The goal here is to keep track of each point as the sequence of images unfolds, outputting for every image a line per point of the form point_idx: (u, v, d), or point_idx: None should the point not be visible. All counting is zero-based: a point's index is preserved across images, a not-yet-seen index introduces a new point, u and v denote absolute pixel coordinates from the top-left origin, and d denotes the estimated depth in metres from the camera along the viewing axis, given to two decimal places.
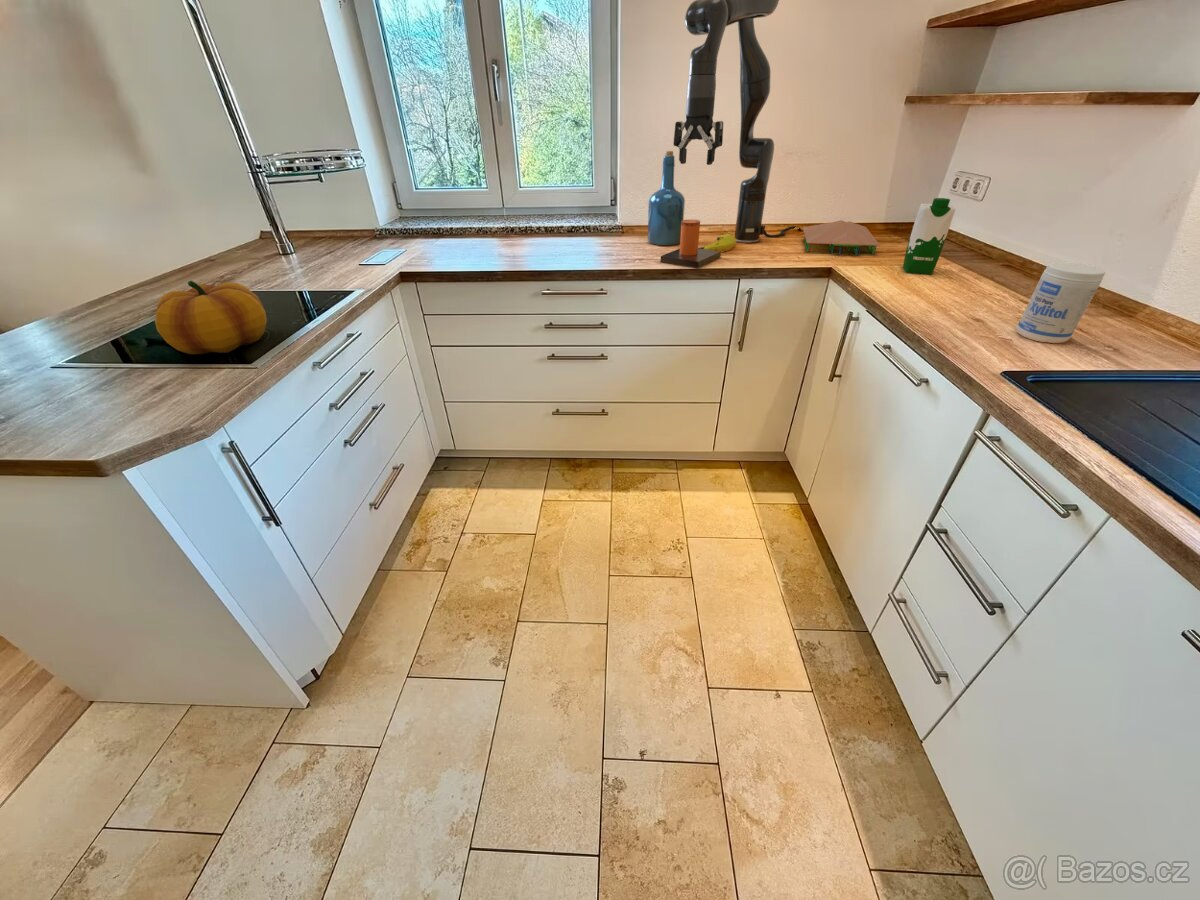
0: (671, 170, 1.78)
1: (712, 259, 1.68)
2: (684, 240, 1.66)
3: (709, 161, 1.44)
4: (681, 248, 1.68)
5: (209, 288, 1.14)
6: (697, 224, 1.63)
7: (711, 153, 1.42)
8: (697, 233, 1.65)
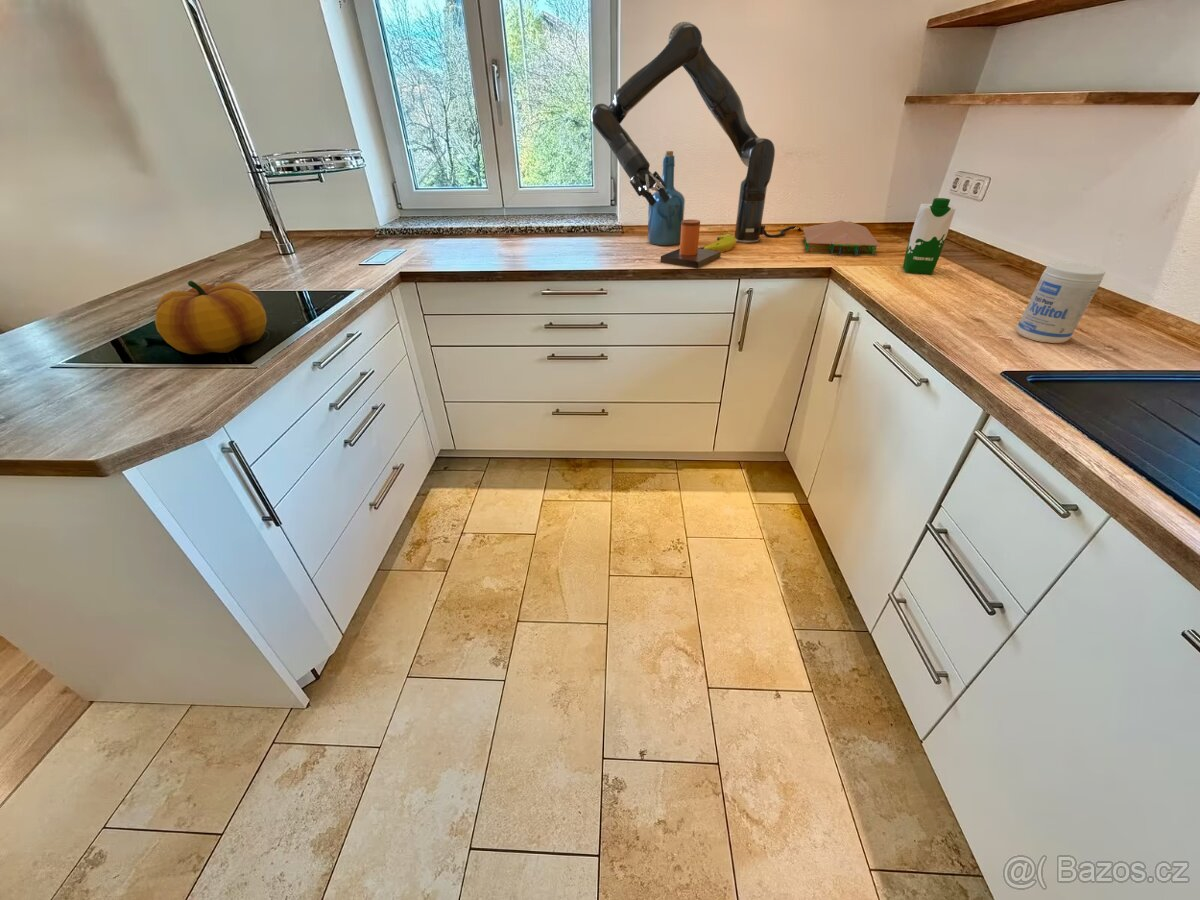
0: (671, 170, 1.78)
1: (712, 259, 1.68)
2: (684, 240, 1.66)
3: (650, 203, 1.66)
4: (681, 248, 1.68)
5: (209, 288, 1.14)
6: (697, 224, 1.63)
7: None
8: (697, 233, 1.65)
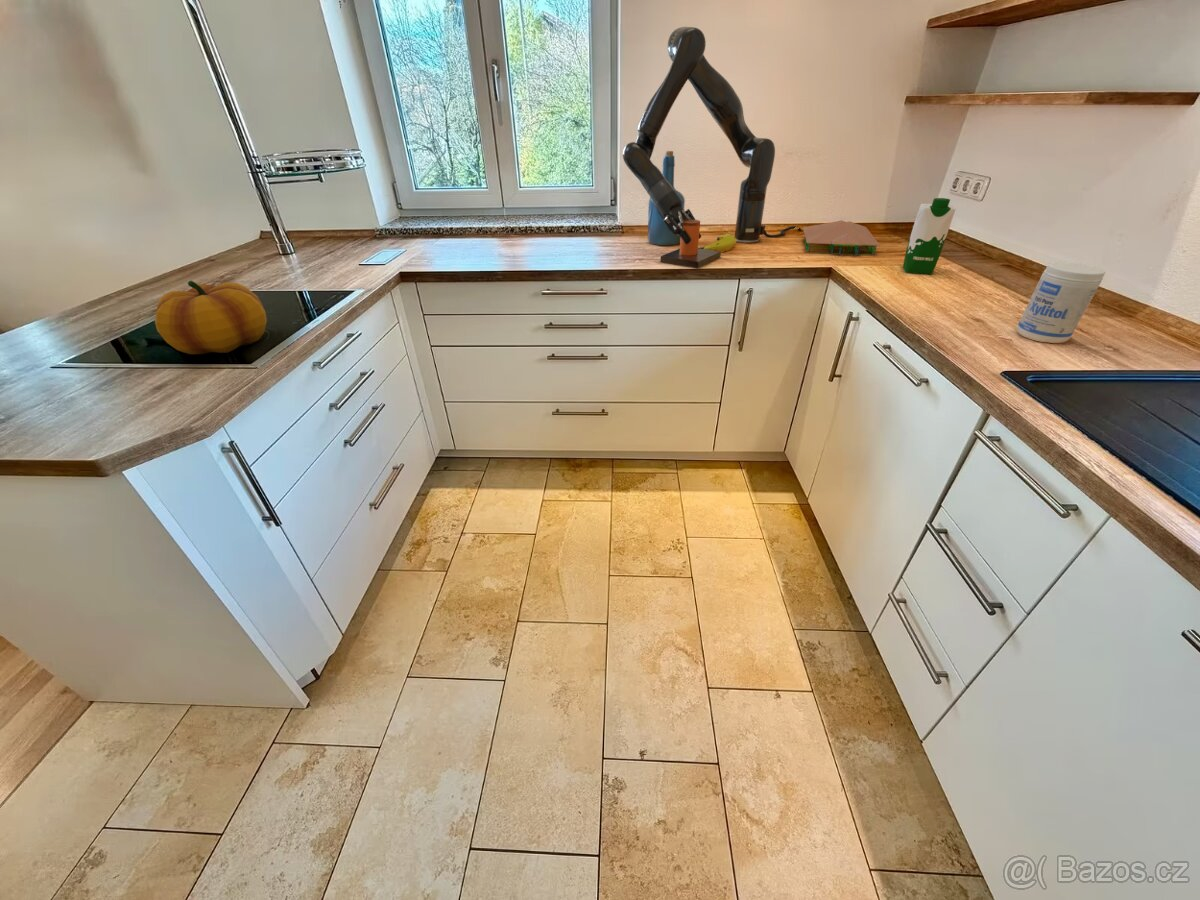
0: (671, 170, 1.78)
1: (712, 259, 1.68)
2: None
3: (685, 242, 1.65)
4: (681, 248, 1.68)
5: (209, 288, 1.14)
6: (697, 224, 1.63)
7: None
8: (697, 233, 1.65)
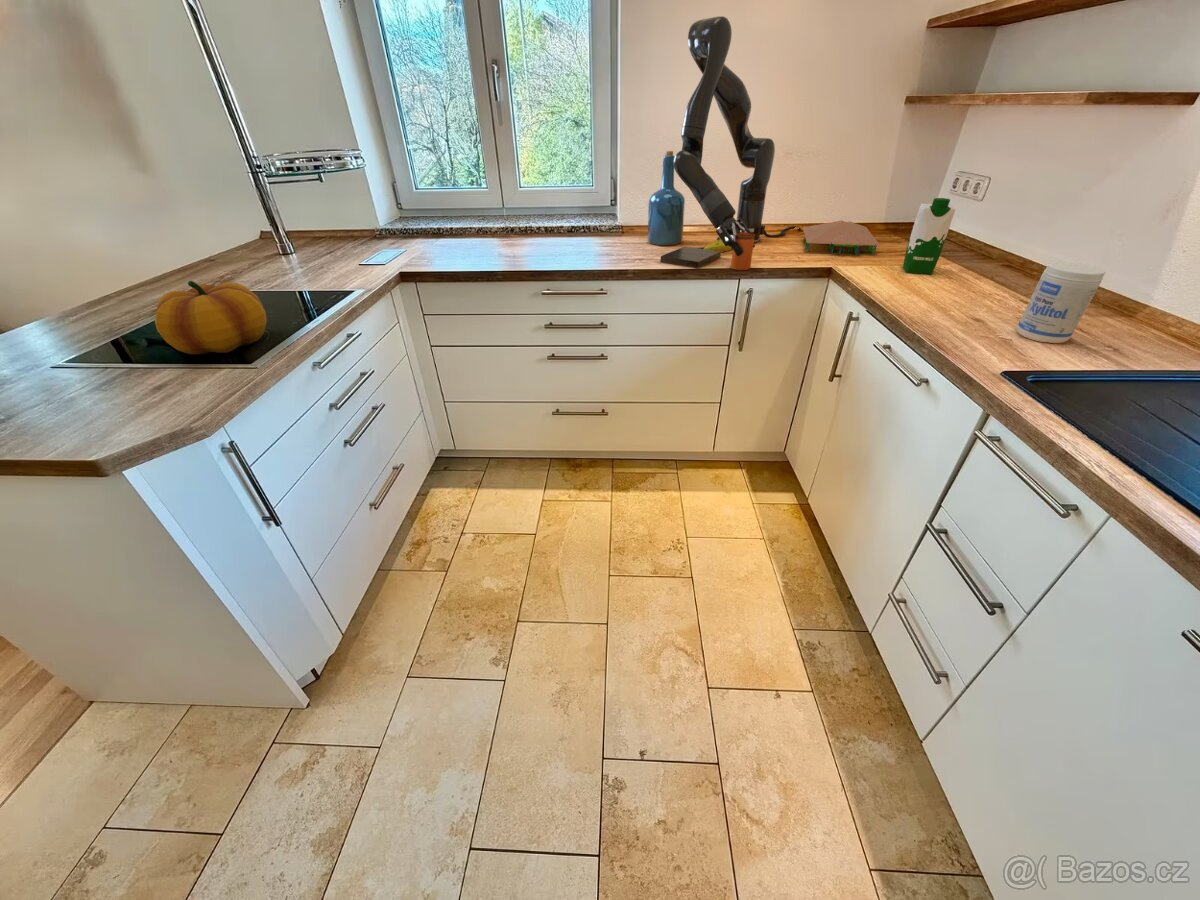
0: (671, 170, 1.78)
1: (712, 259, 1.68)
2: None
3: (736, 254, 1.56)
4: (733, 262, 1.60)
5: (209, 288, 1.14)
6: (752, 237, 1.55)
7: None
8: (751, 247, 1.56)
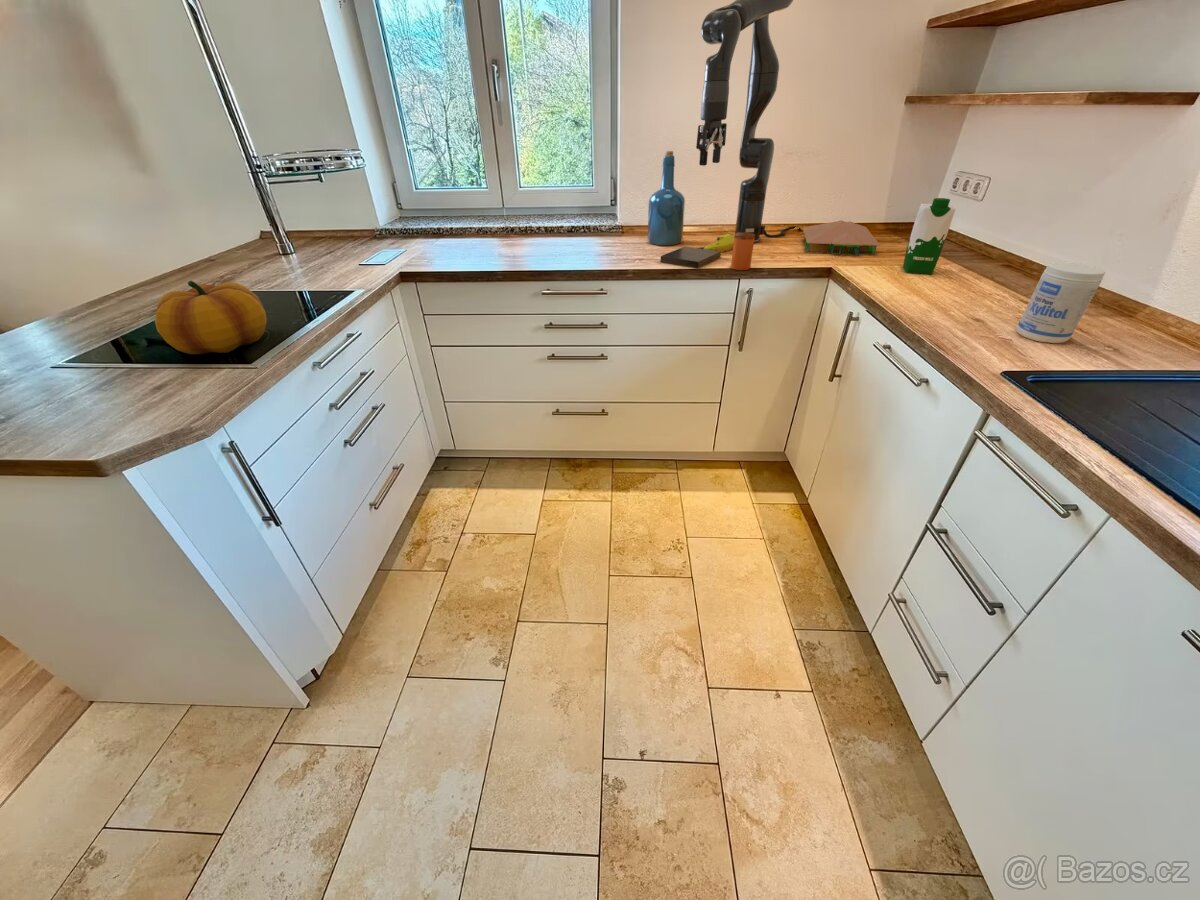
0: (671, 170, 1.78)
1: (712, 259, 1.68)
2: (738, 254, 1.57)
3: (700, 162, 1.54)
4: (733, 262, 1.60)
5: (209, 288, 1.14)
6: (752, 237, 1.55)
7: None
8: (751, 247, 1.56)
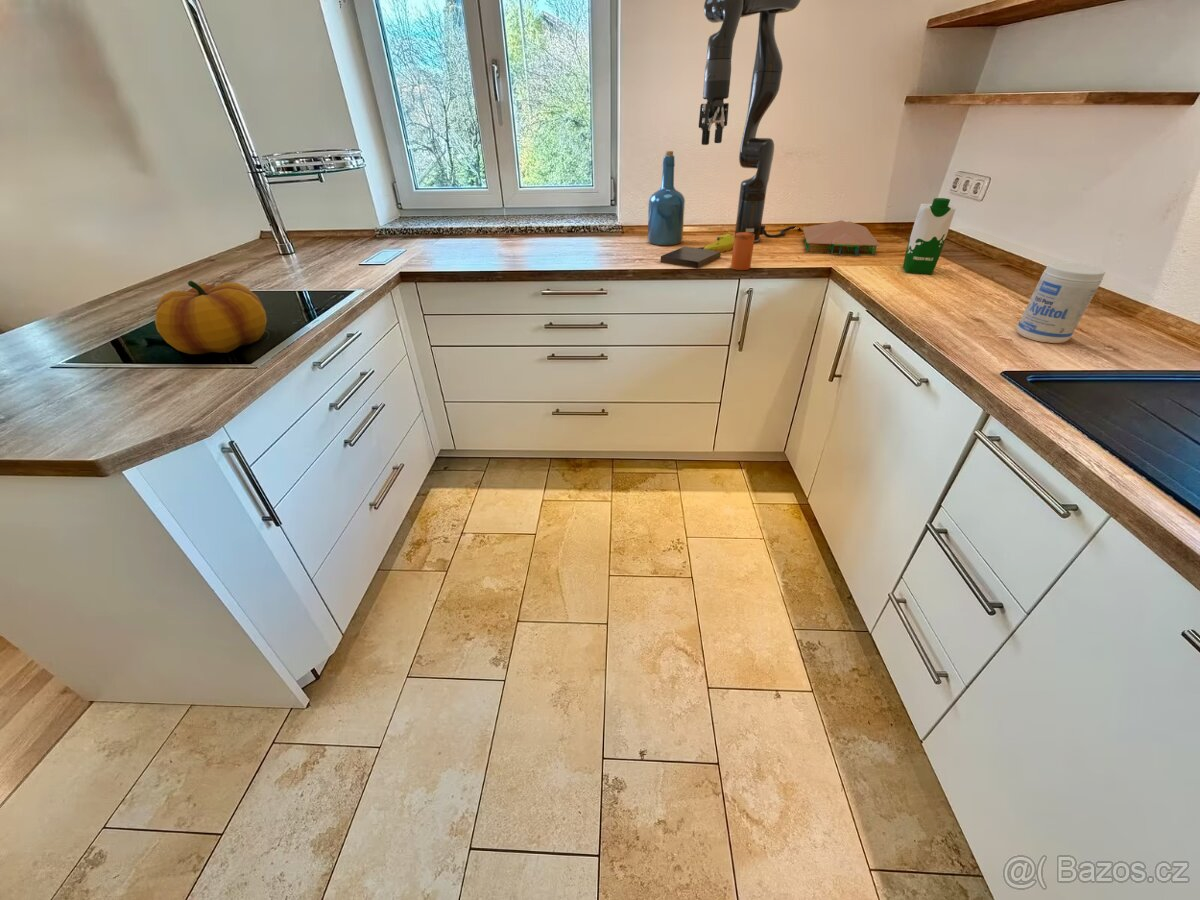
0: (671, 170, 1.78)
1: (712, 259, 1.68)
2: (738, 254, 1.57)
3: (702, 141, 1.55)
4: (733, 262, 1.60)
5: (209, 288, 1.14)
6: (752, 237, 1.55)
7: None
8: (751, 247, 1.56)
